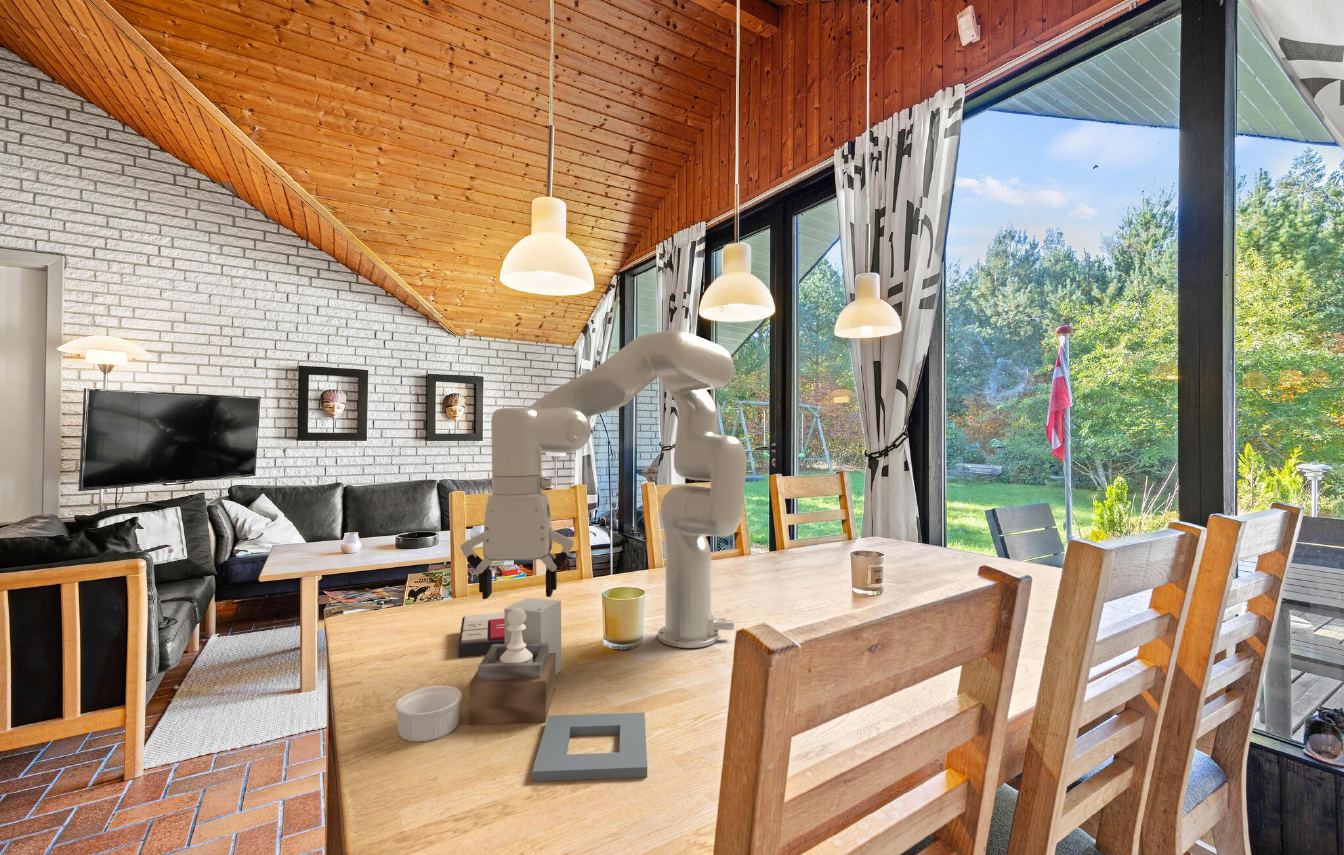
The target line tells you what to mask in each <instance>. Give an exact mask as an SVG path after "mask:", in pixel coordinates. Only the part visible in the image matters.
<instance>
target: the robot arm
mask: <svg viewBox="0 0 1344 855" xmlns="http://www.w3.org/2000/svg"><path fill="white" fill-rule="evenodd" d="M734 371H735V365H734V361H733V357H732V356H731V354H730V353H729V351H728V350H727V349H726V348H724V347H723V346H722V345H720V344H718V343H715V342H712V341H709V340H707V339H705V338H702V337H700V336H697V335H695V334H693V333H689V332H687V331H684V330H679V329H678V330H677V329H671V330H670V329H669V330H665V331H660V332H659V331H657V332H652V333H645V334H642V335H641V336H638V337H636V338H634V339H633V340H631V341H630V342H629V343H628V344H626V345H625V346H624V347H622V348H621V349H620V350H618V351H617V352H616V353H614V354H612V356H610V357H609V358H608V359H606V360H605V361H604V362H602V363H601V364H600V365H598V366H597V367H595V368H594V369H591V370H589V371H587V372H585V373H583V374H581V375H579V376H577V377H576V378H574V379H572V380H570V381H568V382H566V383H564V384H562V385H560V386H558V387H556V388H554V389H552V390H551V391H550V392H548V393H547V394H545V395H544V396H542V397H541V398H539V399H538V400H537V401H535V402H534V403H533V404H531V405H530V406H528V407H502V408H498V409H496V410H493V413H492V415H491V420H490V421H491V423H490V426H491V427H490V428H491V429H490V430H491V491H492V492H491V494H490V495H488V497H487V501H486V506H485V513H484V522H483V532H481V533H480V534H478V535H476V536H473V537H472V538H470V539H468V540H466V541H464V542H463V543H461V545H460V550H461V552H462V553H463V555H464V557H465V558H466V562H468V564H469V565H470V566H472V568H474V569H475V572H476V573H477V574H478V591H479V593H481V594H482V595H481V596H482V597H481V598H482V600H487V599H488V598H489V597H490V596H491V595H492V594H493V582H492V580H493V576H492V572H493V571H492V569H491V568H490V565H491V564H492V563H493V561H494V562H501V561H502V562H503V561H511V562H512V561H534V560H535V561H536V560H537V561H538V560H540V561H541V562H542V563H543V564H544V565H545V566H546V567H547V570H546V571H545V596H546V597H547V598H551V597H552V594H553V592H554V591H556V590H557V586H558V585H557V584H558V583H557V582H558V578H557V577H558V575H557V574H558V573H557V570H558V568H559V567H560V566H561V565H562V564H563V563H564V562H565V561H566V560H567V558H568V557H569V554H570V552H571V550H572V548H573V545H574V543H575V542H574V540H573V539H572V538H570V537H568V536H566V535H563V534H561V533H559V532H557V531H555V530H553V529H552V517H551V510H550V502H549V497H548V493H545V492H544V493H543V490H544V489H546V488H551V486H552V479H551V478H546V477H544V476H543V474H542V453H545V452H546V453H558V454H560V453H561V454H563V453H565V454H566V453H567V454H568V453H572V452H575V451H578V450H580V449H582V448H583V447H584V446H585V445H586V444H587V443H588V441H589V439H590V437H591V432H592V427H591V422H590V421H589V418H590V417H594V416H595V415H596V416H597V415H601V414H605V413H608V412H612V411H613V410H616V409H620V408H621V407H623V406H625V405H627V404H628V403H629V402H630V401H632V400H633V399H634V398H635V397H636V396H637V395H638V394H639V393H640V392H642V391H643V390H644V389H645V388H647V387H648V386H649V385H651V383H653V382H654V381H655V380H656V379H658V378H660V380H661V381H662V383H663V385H664V386H665V387H666V389H667V390H668V391H669V394H670V395H671V397H672V398H673V400H674V402H675V404H676V408H677V426H676V434H675V444H674V453H673V468H674V471H675V473H676V474H677V475H678V476H680V477H682V478H684V479H686V480H687V479H688V480H694V481H706V482H707V481H708V482H710V487H706V486H697V485H696V486H695V485H680V486H679V485H678V486H674V487H672V488H670V489H669V490H667V492H666V493H665V494H664V495H663V497H662V499H661V505H660V514H661V515H660V516H661V522H662V525H663V526H662V527H663V530H664V539H665V613H664V614H665V625H664V626H662V627H661V628H660V629H659V630H658V631H657V637H658V640H659V641H660V642H661V643H662V644H664V645H667V646H671V647H674V648H682V649H695V648H696V649H699V648H704V647H708V646H711V645H713V644H715V643H717V641H718V640H719V631H720V630H724V631H734V630H735V624H734V620H733V619H731V620H729V619H727V620H726V617H719V618H715V617H714V616H713V614H712V551H711V546H710V544H709V540H708V538H707V537H706V536H712V537H720V538H721V537H724V538H725V537H730V536H731V535H733V534H735V532H736V531H737V529H738V527H739V526H740V524H741V520H742V515H743V508H744V498H745V488H746V480H747V479H746V478H747V454H746V450H745V448H744V445H743V444H742V442H741V441H740V440H739V439H738V438H736V437H735V436H732V435H728V434H717V433H718V416H719V415H718V414H719V413H718V409H717V406H716V403H715V401H714V400H713V398H712V396H711V395H710V393H709V392H708V390H715V389H722V388H723V387H726V385H728V384H729V383H730V381H732V379H733V376H734ZM553 542H555V543H557V544H559V545H561V546H562V549H561V551H560V552H559V553H558V555H556V557H555V556H554V554H553V553H552V552H551V551H552V549H553ZM480 544H482V554H483V557H484V558H483V559H482V558H481V557H480V556H479V555H478V554H477V553H475V550H474V547H476V546H478V545H480Z"/></svg>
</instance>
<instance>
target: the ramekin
mask: <svg viewBox="0 0 1344 855" xmlns="http://www.w3.org/2000/svg"><path fill="white" fill-rule="evenodd" d="M462 698H463V692H462V690H460V688H458V687H455V686H450V685H432V686H427V687H421V688H419V689H415V690H413V691H410V692H408V693H406V694H404V695H403V696H401V697H400V698H399V699H398V700H397V701H396V702H395V705H394V710H395V712H396V718H397V719H396V720H397V728H398V729H397V730H398V731H397V732H398V735H399V737H401V739H403V740H405V739H406V740H405V741H407V740H408V741H407V742H411V741H424V742H429V740H431V741H433V739H435V740H438V739H440V737H441V738H443V737H445V736H447V735H449V734H450V733H452V732H453V731H454V730H455V729H457V727H458V724H459V722H460V721H459V719H460V709H461V701H462ZM437 738H438V739H437Z"/></svg>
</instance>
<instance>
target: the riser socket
mask: <svg viewBox="0 0 1344 855" xmlns="http://www.w3.org/2000/svg"><path fill="white" fill-rule="evenodd" d="M507 645H508V644H493V645H492V646H491V648H490V649H489V651H488V653H487V654H486V655H484V657H483V658H482V660H481V662H480V664H478V668H477V671H476V672H475V674H474V676H473V677H472V679H471V680H470V682H469V685H468V688H469V690H468V691H469V692H468V693H469V694H468V695H469V696H468V704H469V705H468V725H469V726H471V725H472V726H474V725H476V726H477V725H499V724H500V725H501V724H503V725H505V724H528V723H529V724H531V723H533V724H534V723H547V719H548V716H549V712H550V708H551V706H552V702H553V698H554V694H555V691H556V675H555V658H556V653H549V643H529V644H526V647H525V648H526V649H527V650H529V651H530V652H531V653H532V655H533V658H532V660H533V662H531V663H500V657H501V655H502V654H503V653H504V652H505V651H506V650H507Z"/></svg>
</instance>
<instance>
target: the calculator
mask: <svg viewBox="0 0 1344 855" xmlns="http://www.w3.org/2000/svg"><path fill="white" fill-rule="evenodd" d="M493 644H505V614H504V612H494V613H481V614H470V615H469V614H468V615H464V616H463V617H462V619H461V627H460V632H459V638H458V646H457V648H458V650H457V651H458V654H457V656H458V658H462V659H463V658H470V657H479V656H486V654H487V653H488V651H489V649H490V648H491V646H492V645H493Z"/></svg>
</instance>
